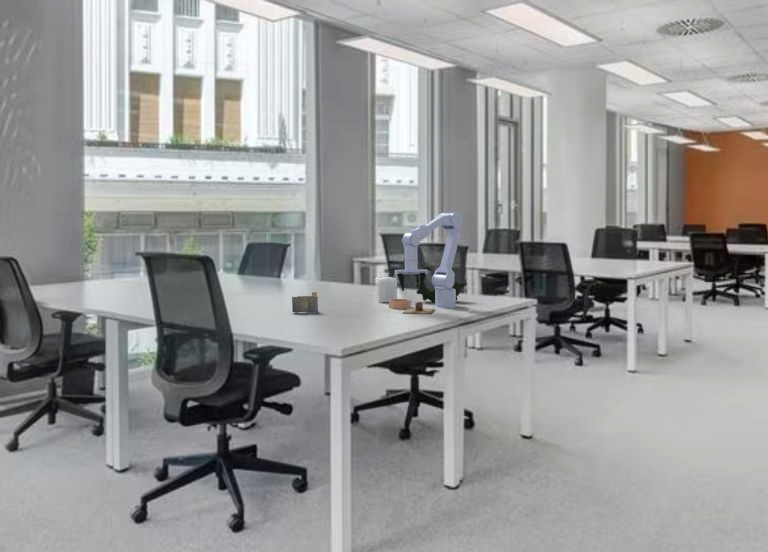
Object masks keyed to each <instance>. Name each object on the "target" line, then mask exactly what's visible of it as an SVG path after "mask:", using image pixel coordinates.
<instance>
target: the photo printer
mask: <svg viewBox="0 0 768 552" xmlns="http://www.w3.org/2000/svg"><path fill="white" fill-rule="evenodd" d="M391 299H398V280H397V278H395V277H393V276H385V277H382V278H379V279H378V281H377V302H378V303H380V304H382V303H383V304H384V303H389V300H391Z"/></svg>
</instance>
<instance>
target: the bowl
mask: <svg viewBox="0 0 768 552" xmlns="http://www.w3.org/2000/svg"><path fill="white" fill-rule="evenodd" d="M408 308H412V299H410V298H409V299H408V298H397V299H391V300H389V302H388V309H391V310H407V309H408Z"/></svg>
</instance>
